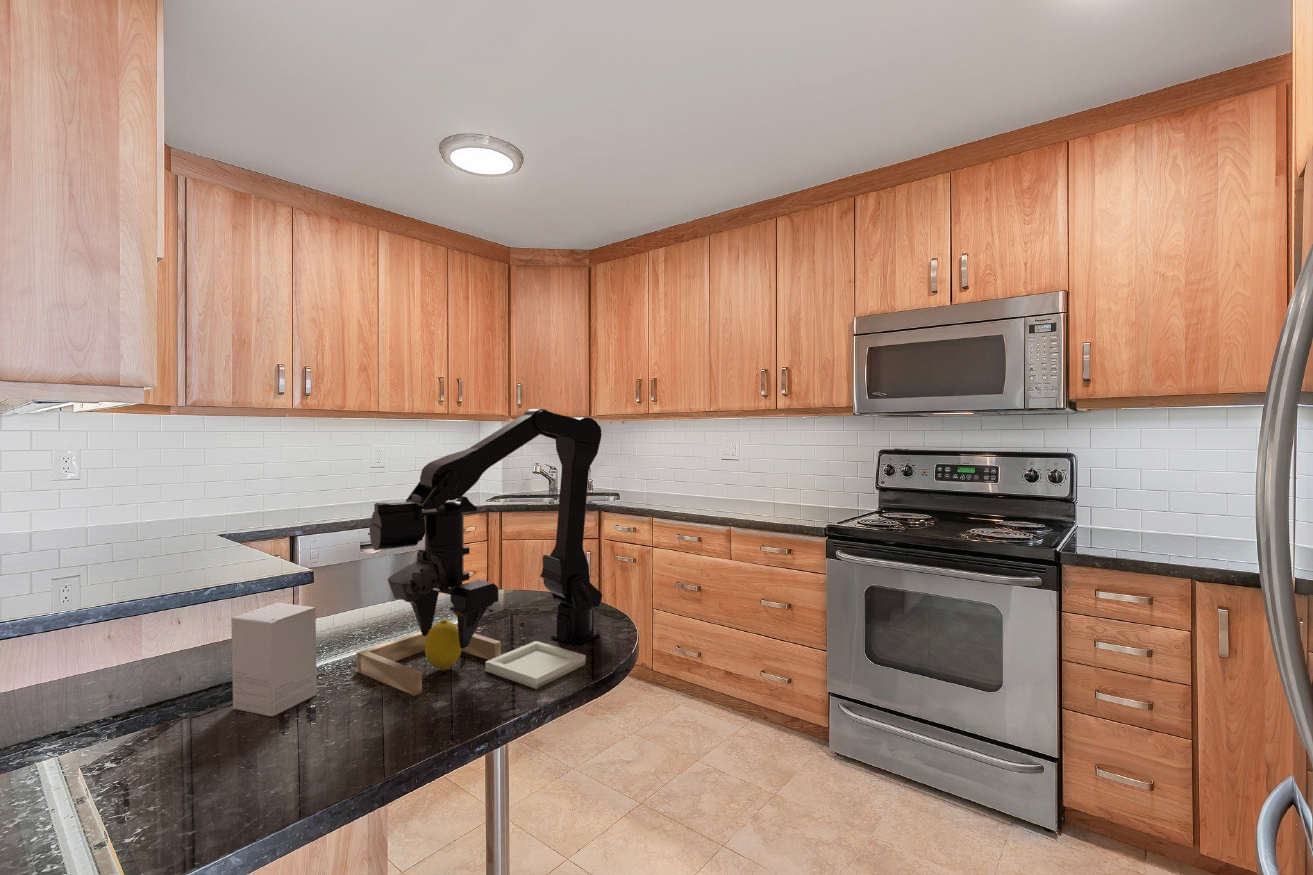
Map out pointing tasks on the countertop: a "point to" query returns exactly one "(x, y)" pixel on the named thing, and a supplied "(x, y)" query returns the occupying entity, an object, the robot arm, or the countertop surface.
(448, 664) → the lemon
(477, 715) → the countertop surface
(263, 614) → the supplement box
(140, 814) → the countertop surface
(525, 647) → the dish
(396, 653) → the u-shaped wooden frame
